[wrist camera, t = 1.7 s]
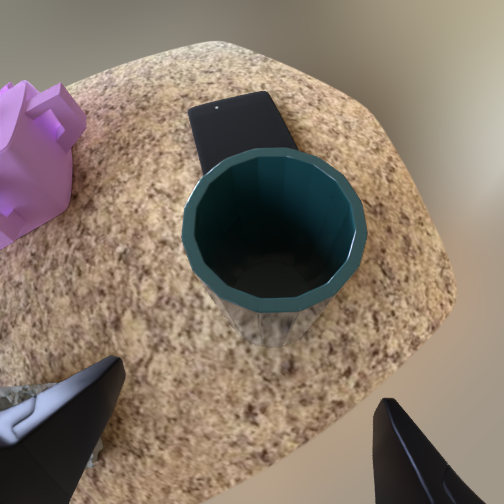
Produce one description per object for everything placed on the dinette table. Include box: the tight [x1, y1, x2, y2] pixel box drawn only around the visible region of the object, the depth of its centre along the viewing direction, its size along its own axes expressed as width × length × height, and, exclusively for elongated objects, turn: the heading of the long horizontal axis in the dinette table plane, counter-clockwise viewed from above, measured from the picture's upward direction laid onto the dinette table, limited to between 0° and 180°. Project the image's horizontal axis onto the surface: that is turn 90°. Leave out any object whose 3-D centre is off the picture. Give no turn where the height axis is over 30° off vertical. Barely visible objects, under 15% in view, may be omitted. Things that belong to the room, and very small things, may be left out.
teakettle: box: [0, 81, 86, 250], centre depth 24 cm, size 17×17×12 cm
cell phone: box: [188, 91, 299, 175], centre depth 28 cm, size 9×18×1 cm, turn 16°
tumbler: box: [181, 148, 368, 348], centre depth 17 cm, size 7×7×13 cm
